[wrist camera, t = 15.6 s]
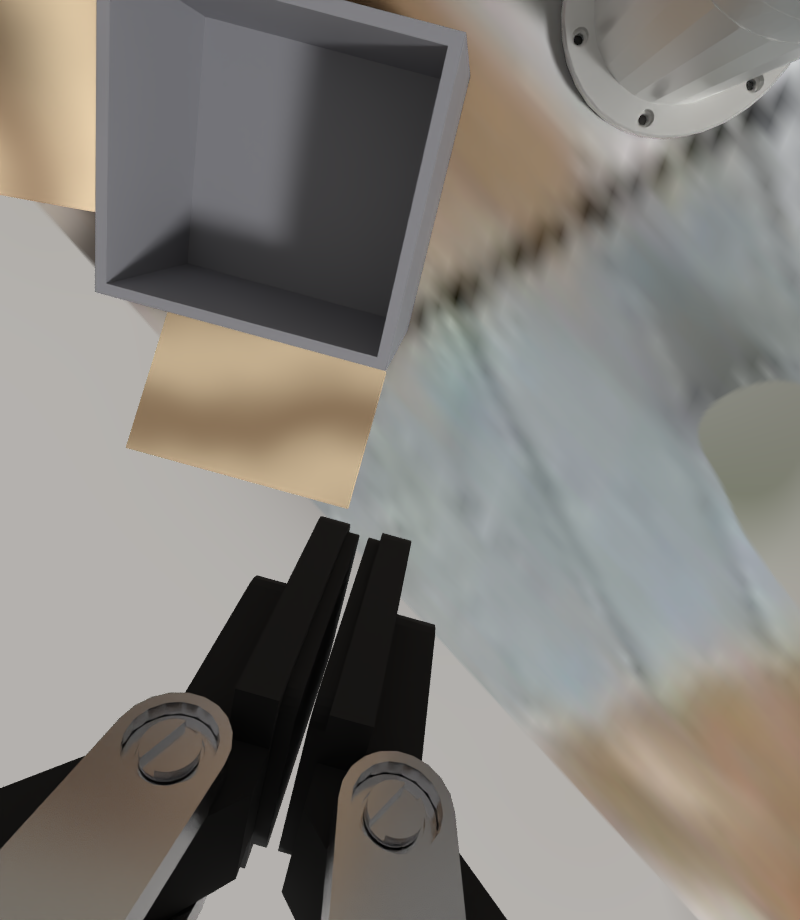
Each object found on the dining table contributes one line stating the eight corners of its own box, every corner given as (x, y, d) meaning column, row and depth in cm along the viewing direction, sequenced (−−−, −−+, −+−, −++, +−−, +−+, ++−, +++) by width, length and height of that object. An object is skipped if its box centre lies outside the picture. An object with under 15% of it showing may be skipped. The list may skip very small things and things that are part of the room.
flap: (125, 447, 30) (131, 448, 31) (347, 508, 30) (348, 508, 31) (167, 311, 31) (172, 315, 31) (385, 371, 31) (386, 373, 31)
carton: (200, 4, 33) (96, -66, 24) (470, 75, 33) (466, 32, 24) (182, 269, 40) (95, 291, 31) (407, 330, 40) (385, 370, 31)
